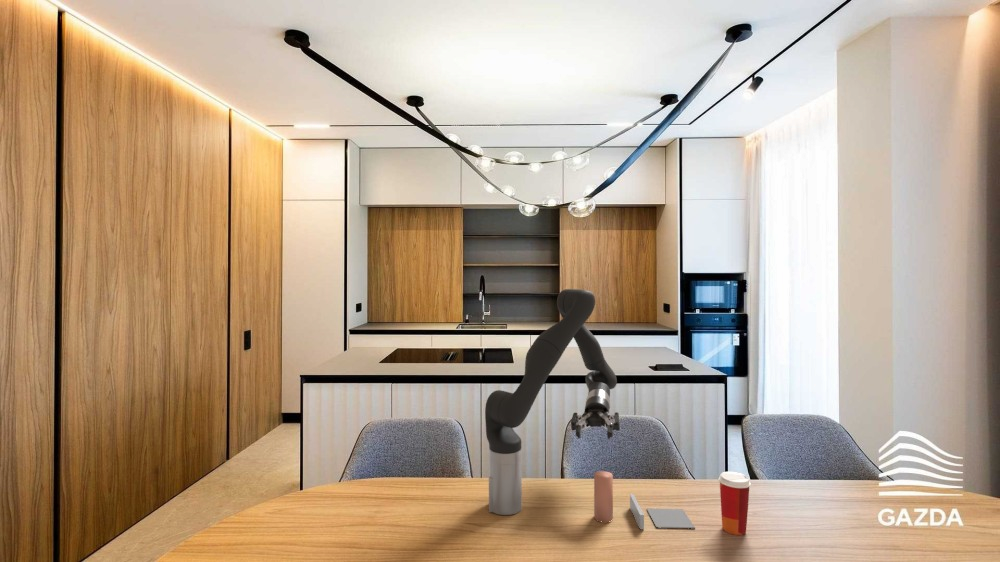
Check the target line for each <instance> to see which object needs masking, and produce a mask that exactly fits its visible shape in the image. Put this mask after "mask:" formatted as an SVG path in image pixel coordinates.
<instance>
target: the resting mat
mask: <svg viewBox="0 0 1000 562" xmlns="http://www.w3.org/2000/svg"><path fill="white" fill-rule="evenodd" d="M646 511H647V514H648V515H649V517H650V516H651V517H650V519H651V518H652V519H651V520H653V521H652V523H653V522H654V523H653V524H655V525H654V527H655V526H656V527H661V528H660V529H667V528H688V529H687V530H695V529H696V527H695V525H694V524H693V522H692V521H691V520H690V517H689V516H688V515H687V513H686V512H685V510H684V509H683V508H646ZM656 527H655V528H656ZM689 528H691V529H689Z"/></svg>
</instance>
